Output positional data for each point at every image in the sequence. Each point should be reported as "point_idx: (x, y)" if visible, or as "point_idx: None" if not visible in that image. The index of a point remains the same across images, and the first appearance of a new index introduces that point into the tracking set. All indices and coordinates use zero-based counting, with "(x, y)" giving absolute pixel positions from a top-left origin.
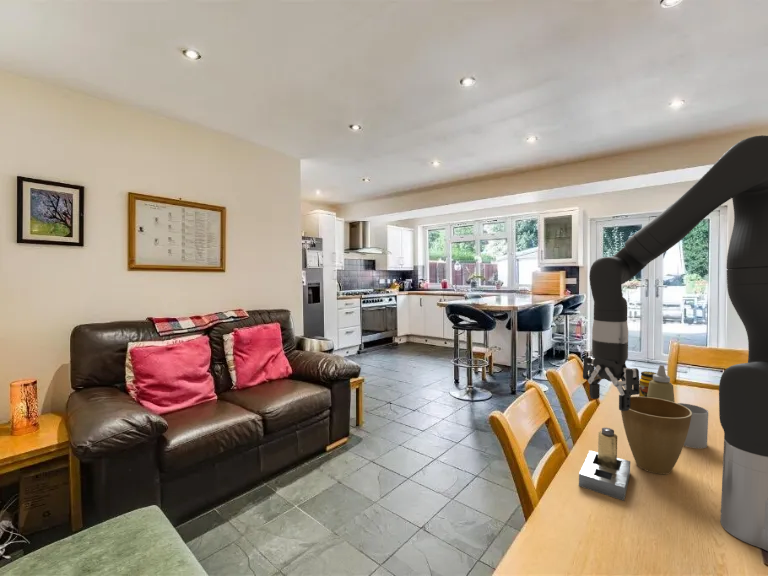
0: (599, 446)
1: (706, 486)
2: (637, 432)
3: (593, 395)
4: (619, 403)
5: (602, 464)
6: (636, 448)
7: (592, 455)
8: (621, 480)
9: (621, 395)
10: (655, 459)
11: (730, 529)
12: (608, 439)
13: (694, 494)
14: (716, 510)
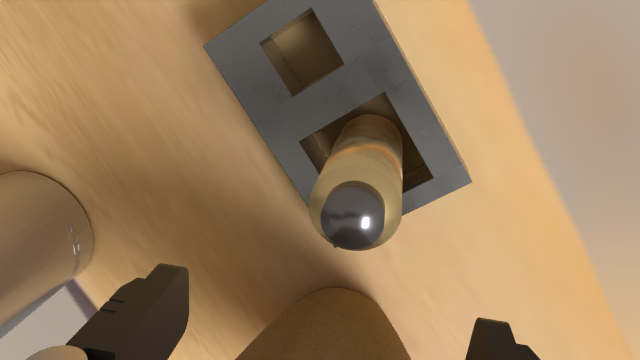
0: (377, 149)
1: (210, 346)
2: (307, 348)
3: (482, 344)
4: (153, 293)
5: (361, 125)
6: (339, 312)
7: (433, 152)
8: (243, 82)
9: (90, 352)
10: (283, 314)
11: (31, 177)
12: (324, 172)
13: (191, 278)
14: (123, 251)
